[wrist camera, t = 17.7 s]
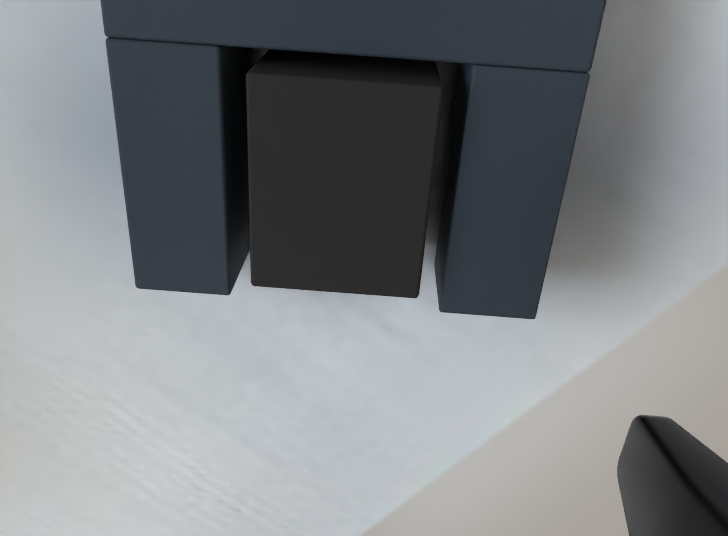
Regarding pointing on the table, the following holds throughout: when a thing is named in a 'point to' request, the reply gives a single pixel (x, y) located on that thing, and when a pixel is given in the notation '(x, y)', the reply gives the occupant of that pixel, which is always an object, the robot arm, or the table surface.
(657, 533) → the robot arm
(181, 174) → the slotted block
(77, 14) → the table surface
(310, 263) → the black rectangular block
